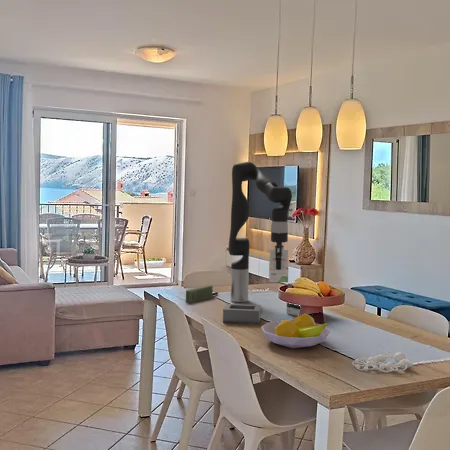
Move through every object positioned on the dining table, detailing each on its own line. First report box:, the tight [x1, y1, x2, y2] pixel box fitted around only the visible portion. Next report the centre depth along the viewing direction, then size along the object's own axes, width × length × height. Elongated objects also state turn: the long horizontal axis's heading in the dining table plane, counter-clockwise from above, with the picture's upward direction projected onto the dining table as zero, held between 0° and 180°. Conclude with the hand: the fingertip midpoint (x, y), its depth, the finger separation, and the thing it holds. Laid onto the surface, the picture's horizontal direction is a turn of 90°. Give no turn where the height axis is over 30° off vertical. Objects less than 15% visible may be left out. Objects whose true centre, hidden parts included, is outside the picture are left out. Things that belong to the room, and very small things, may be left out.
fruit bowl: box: [261, 313, 331, 349], centre depth 220 cm, size 28×27×11 cm
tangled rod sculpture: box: [351, 351, 414, 373], centre depth 193 cm, size 19×14×4 cm
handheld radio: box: [185, 284, 219, 304], centre depth 301 cm, size 7×3×25 cm
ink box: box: [268, 249, 289, 283], centre depth 255 cm, size 9×5×15 cm, turn 84°
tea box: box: [285, 281, 318, 317], centre depth 270 cm, size 15×10×15 cm
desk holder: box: [222, 303, 262, 325], centre depth 256 cm, size 12×16×6 cm
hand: (278, 268), depth 255 cm, fingers closed on ink box, 5 cm apart
